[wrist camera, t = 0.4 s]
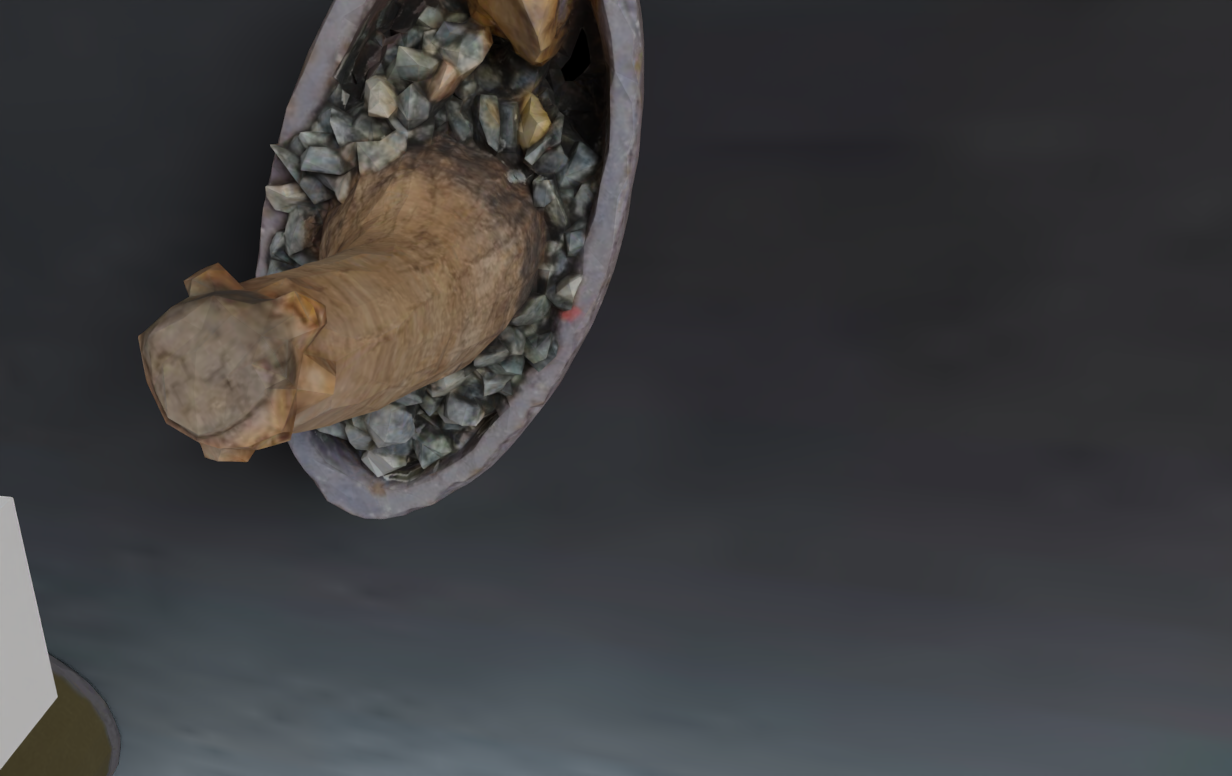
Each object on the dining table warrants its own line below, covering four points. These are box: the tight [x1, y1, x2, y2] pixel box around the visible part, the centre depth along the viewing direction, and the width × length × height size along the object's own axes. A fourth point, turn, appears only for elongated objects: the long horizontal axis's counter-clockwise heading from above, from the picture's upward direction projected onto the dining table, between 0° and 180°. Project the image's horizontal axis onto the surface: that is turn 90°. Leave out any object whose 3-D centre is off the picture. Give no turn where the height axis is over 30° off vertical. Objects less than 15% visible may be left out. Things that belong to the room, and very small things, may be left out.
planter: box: [138, 0, 644, 519], centre depth 28 cm, size 15×17×20 cm
